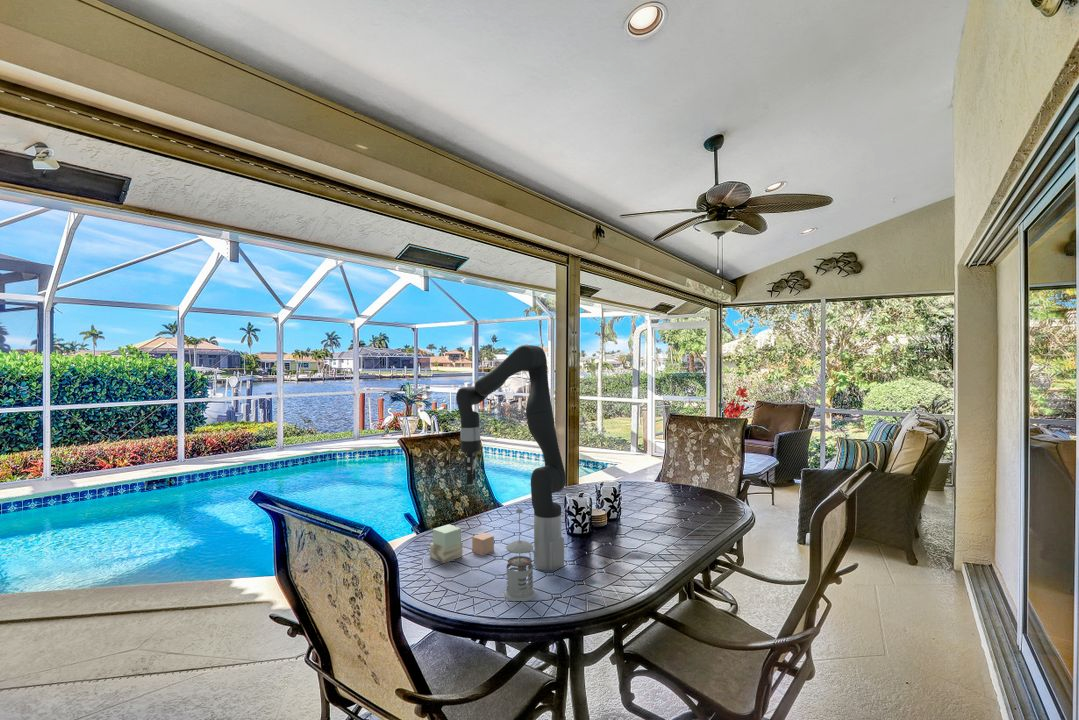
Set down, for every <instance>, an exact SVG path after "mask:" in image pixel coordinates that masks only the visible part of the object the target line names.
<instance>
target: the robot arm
mask: <svg viewBox="0 0 1079 720" xmlns="http://www.w3.org/2000/svg"><path fill="white" fill-rule="evenodd" d="M546 355H547V354H546V352H545V350H544V349H543V348H542V347H541V346H539V345H534V344H533V345H531V344H530V345H529V344H521V345H519V346H518V347H517V348H515V349H514V350H513V351H512V352H511V353H510V354H509V355H508V356H507V357H506V358H504V360H503V361H502V362H500V363H499V364H498V365H497V366H496V367H494V368H493V369H491V370H490V371H489V372H487V373H486V374H485V375H483V376H481V377H480V378H478V379H477V380H476V381H475V382H474V383H475V384H474V386H462V387H460V388H459V389H457V392H456V396H455V400H456V405H457V409H458V412H459V415H460V435H459V436H460V452H461V453H466V455H465V457H464V463H465V464H464V465H465V466H464V467H465V469H464V473H465V474H466V485H473V484H474V480H476V479H477V478H476V470H477V465H478V464H477V463H478V462H477V459H478V458H477V457H478V456H477V453H478V452H481V447H482V446H481V429H480V415H479V412H477V411H475V410H473V407H472V406H474V405H479V404H481V403H482V402H483V401H484V400H486V399H487V397H488V396H489V395H490V394H493V393H494V392H496V391H497V390H499V389H500V388H501V387H502V386H503V385H504V384H505V383H506V381H507V380H508V379H509V378H510V377H511V376H513V375H516V374H518V373H519V372H528V377H529V382H530V383H529V384H530V386H529V387H530V389H529V394H528V397H527V401H526V406H525V414H526V421H527V427H528V431H529V432H530V435H531V436H532V438H533V439H534V441H536V443H537V445H538V447H539V448H540V450H541V453H542V455H543V461H544V466H540V467H537V468H535V469H534V470H532V473H531V476H530V493H531V494H530V495H531V505H532V508H533V539H534V540H533V543H534V545H533V550H534V552H533V554H534V553H535V563H534V562H533V564H534V568H536V569H538V570H541V571H548V572H554V571H556V570H558V569H561V568H563V567H565V537H563V535H562V506H561V505H560V504H559V503H557V502H554V501H553V494H554V493H558V492H561V491H562V490H563V489H564V488H565V486H566V483H567V482H566V481H567V475H566V470H565V467H564V463H563V459H562V456H561V452H560V447H559V443H558V437H557V432H556V425H555V418H554V413H553V407H552V401H551V400H552V399H551V394H550V387H549V378H548V377H549V376H548V363H547V362H548V361H547V356H546Z"/></svg>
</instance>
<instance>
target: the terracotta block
mask: <svg viewBox="0 0 1079 720" xmlns="http://www.w3.org/2000/svg"><path fill="white" fill-rule="evenodd" d="M471 538H472V540H471V541H472V545H471V546H472V547H471V548H472V553H474V554H477V555H480V556H485V555H487V554H490V553H492V552H494V551H495V536H494V535H491V534H489V533H486V532H481V533H478V534H475V535H474V536H472V537H471Z"/></svg>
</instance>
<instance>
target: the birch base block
mask: <svg viewBox="0 0 1079 720" xmlns="http://www.w3.org/2000/svg"><path fill="white" fill-rule="evenodd" d="M429 557H430V558H431V559H433V560H435V561H438V562H440V563H442V564H446V563H449V562H451V561H453V560H458V559H459V558H461V557H463V542H462V541H461V543H458V544H456V545H453V546H450V547H447V548H443V547H441V546H438V545H436V544H433V542H431V543H429Z"/></svg>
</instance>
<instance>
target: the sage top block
mask: <svg viewBox="0 0 1079 720" xmlns="http://www.w3.org/2000/svg"><path fill="white" fill-rule="evenodd" d="M461 542H462V528H461V527H458V526H455V525H452V524H450V523H449V524H448V523H447V524H444V525H442V526H438V527H434V528H432V543H433V544H436V545H438V546H441V547H443V548H447V547H450V546H453V545H456V544H458V543H461Z"/></svg>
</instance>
